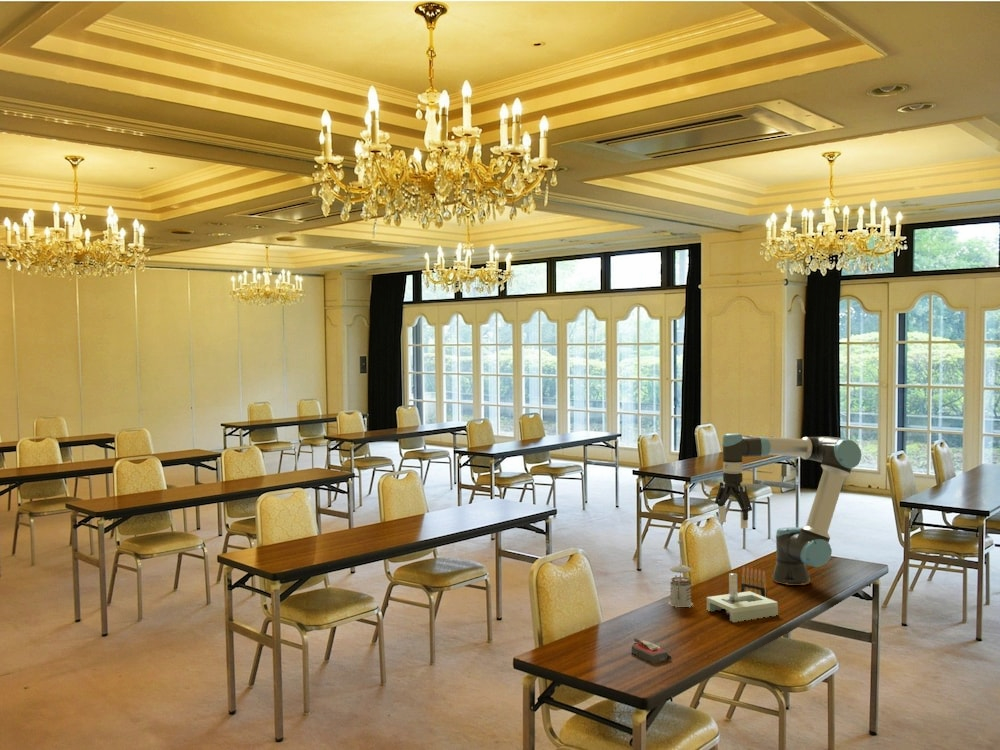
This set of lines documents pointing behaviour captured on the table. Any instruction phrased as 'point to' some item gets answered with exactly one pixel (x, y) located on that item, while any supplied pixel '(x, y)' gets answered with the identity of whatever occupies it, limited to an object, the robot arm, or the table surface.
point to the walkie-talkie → (650, 651)
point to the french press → (680, 586)
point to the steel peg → (732, 589)
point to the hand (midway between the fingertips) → (733, 525)
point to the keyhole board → (744, 606)
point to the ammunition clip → (754, 582)
